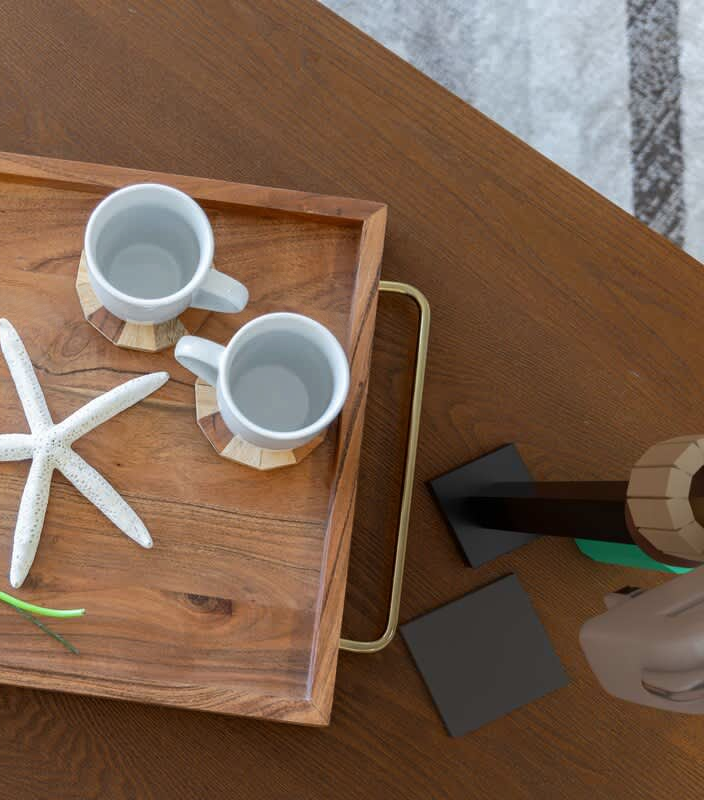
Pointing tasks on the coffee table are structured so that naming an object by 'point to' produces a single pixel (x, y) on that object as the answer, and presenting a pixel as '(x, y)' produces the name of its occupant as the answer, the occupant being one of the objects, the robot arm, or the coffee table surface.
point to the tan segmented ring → (668, 496)
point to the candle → (623, 555)
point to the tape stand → (538, 509)
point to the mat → (483, 655)
